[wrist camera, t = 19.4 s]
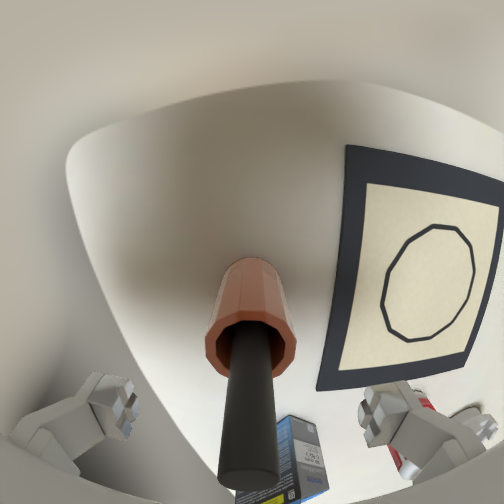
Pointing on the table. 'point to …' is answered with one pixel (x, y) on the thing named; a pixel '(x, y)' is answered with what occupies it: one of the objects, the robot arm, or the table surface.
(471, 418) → the flag stand
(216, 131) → the table surface
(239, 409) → the marker
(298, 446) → the blue retail box
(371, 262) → the desk mat
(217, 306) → the pen cup
